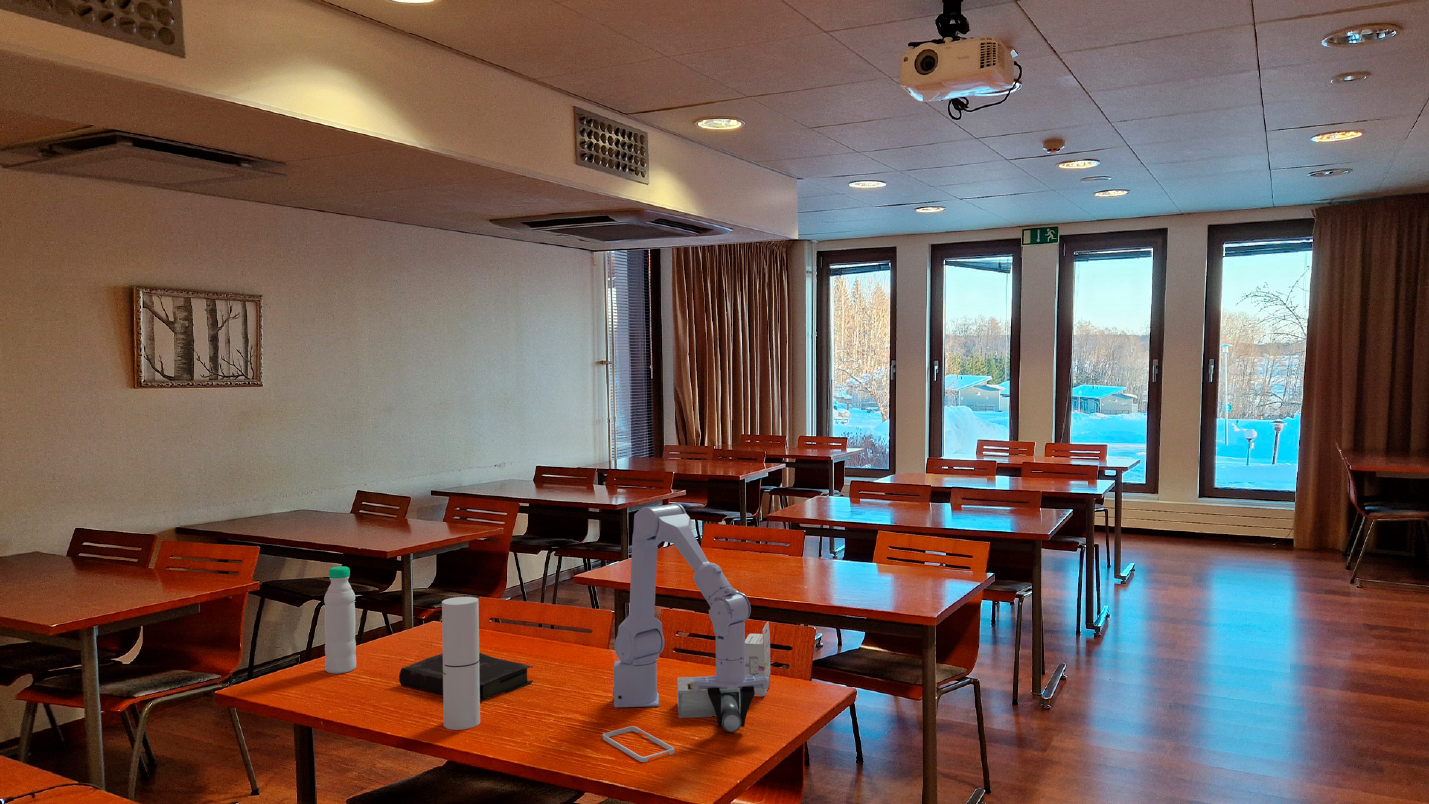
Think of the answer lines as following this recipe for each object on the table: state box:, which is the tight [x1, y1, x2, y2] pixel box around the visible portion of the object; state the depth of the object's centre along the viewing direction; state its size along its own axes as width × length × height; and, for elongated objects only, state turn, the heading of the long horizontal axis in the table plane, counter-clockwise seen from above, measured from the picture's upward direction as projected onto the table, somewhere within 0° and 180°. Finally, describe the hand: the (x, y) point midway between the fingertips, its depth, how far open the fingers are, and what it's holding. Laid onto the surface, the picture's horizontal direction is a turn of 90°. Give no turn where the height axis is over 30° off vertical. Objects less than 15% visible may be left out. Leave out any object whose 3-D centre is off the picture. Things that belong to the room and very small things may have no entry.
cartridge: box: [721, 693, 742, 733], centre depth 187 cm, size 4×12×4 cm, turn 4°
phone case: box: [602, 725, 675, 763], centre depth 177 cm, size 7×1×15 cm
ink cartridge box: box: [745, 621, 771, 697], centre depth 209 cm, size 9×5×15 cm, turn 168°
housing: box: [676, 675, 748, 719], centre depth 197 cm, size 14×9×6 cm, turn 94°
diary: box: [398, 652, 534, 703], centre depth 216 cm, size 19×25×5 cm
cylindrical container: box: [441, 596, 481, 731], centre depth 190 cm, size 7×7×25 cm
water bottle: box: [323, 565, 357, 675], centre depth 227 cm, size 7×7×25 cm
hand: (731, 725), depth 183 cm, fingers closed on cartridge, 4 cm apart
